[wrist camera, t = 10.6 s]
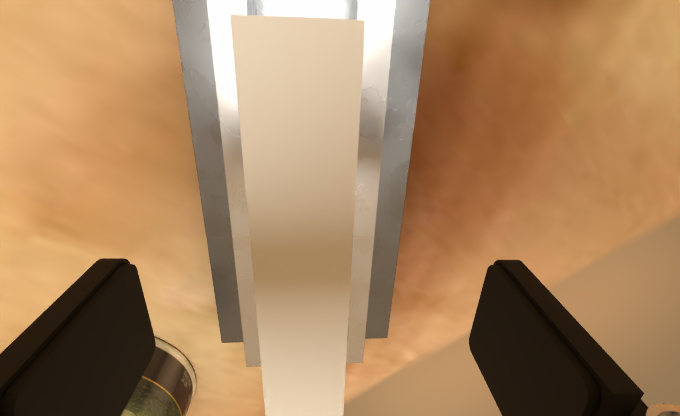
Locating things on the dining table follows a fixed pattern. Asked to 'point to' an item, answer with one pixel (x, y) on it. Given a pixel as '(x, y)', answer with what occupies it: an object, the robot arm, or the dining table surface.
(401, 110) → the door track
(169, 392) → the coffee can
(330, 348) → the door panel
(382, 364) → the dining table surface
